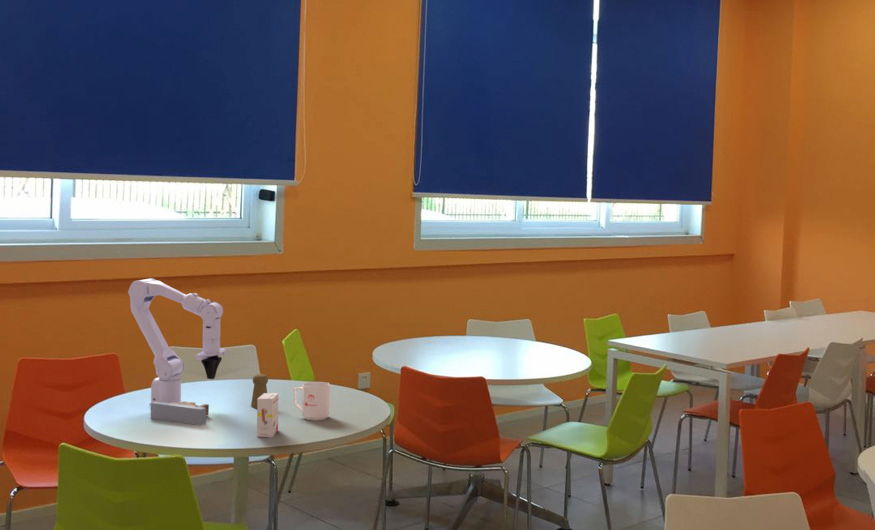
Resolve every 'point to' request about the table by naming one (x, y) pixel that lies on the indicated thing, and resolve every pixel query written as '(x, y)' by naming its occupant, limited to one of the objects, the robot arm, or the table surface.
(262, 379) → the cork
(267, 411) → the ink box
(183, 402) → the walnut cradle
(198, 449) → the table surface
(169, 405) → the wall
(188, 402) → the oak dowel
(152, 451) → the table surface
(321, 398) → the mug
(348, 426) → the table surface
